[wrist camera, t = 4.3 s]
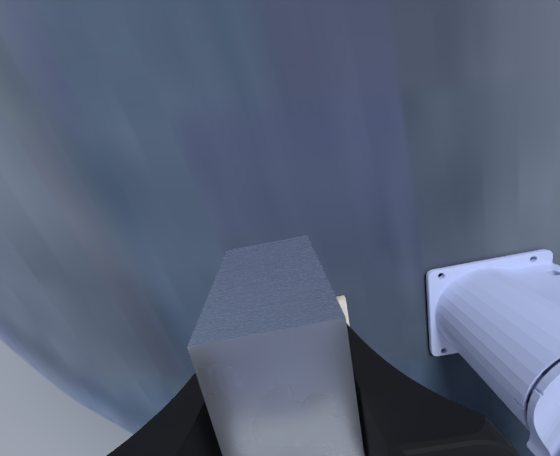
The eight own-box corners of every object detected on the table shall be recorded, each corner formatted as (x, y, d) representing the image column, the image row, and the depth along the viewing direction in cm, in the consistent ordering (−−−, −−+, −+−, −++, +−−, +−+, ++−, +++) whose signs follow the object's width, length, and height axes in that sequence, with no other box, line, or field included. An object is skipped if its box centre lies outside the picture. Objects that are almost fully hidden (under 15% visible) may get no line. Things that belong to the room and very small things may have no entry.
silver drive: (308, 234, 14) (347, 317, 7) (329, 367, 16) (375, 528, 9) (226, 250, 14) (185, 347, 7) (258, 380, 16) (251, 550, 9)
